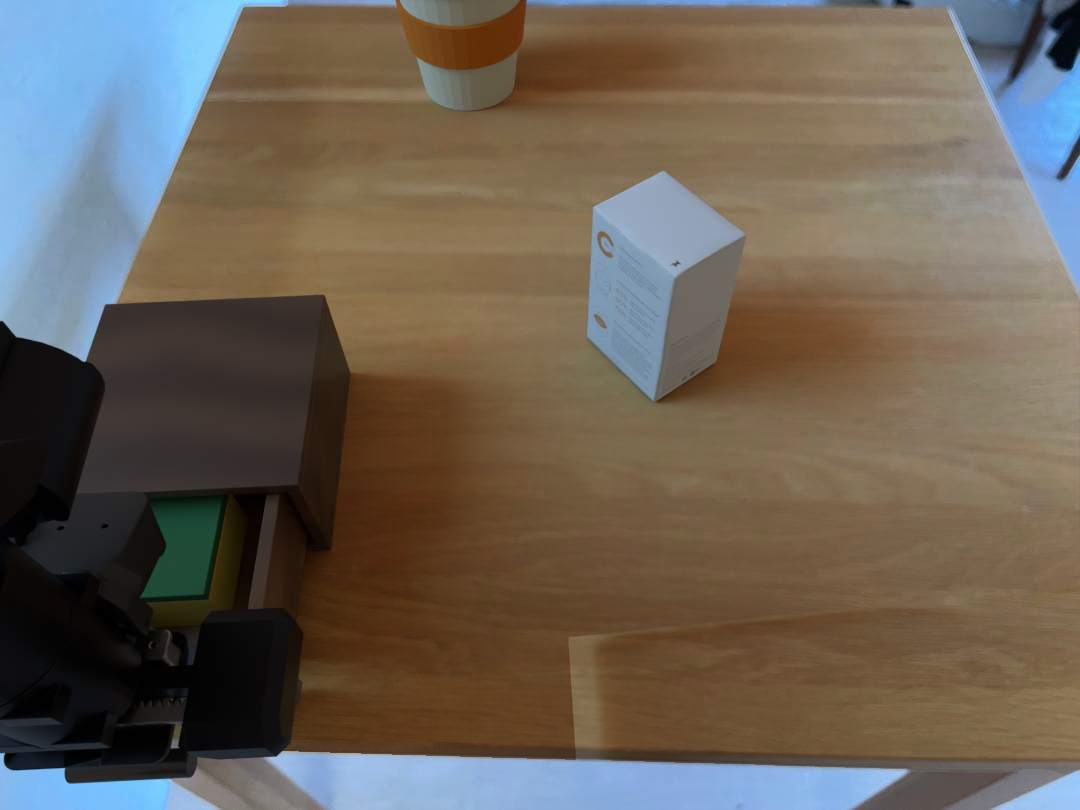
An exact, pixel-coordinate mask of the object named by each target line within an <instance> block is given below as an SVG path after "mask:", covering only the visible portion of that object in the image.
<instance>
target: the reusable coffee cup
mask: <svg viewBox="0 0 1080 810" xmlns="http://www.w3.org/2000/svg"><path fill="white" fill-rule="evenodd" d="M527 1H528V0H395V4H396V8H397V11H398V14H399V18H400V22H401V25H402V29H403V31H404V35H405V39H406V42H407V46H408V48H409V50H410V51H411V53H412V55H414V56H415V57H416V61H417V65H418V68H419V71H420V74H421V78H422V80H423V86H424V87H425V91H426V94H427V95H428V97H429V99H431V100H432V101H433V102H434V103H436V104H437V105H439V106H441V107H444V108H446V109H450V110H455V111H462V112H468V111H469V112H471V111H473V112H474V111H478V110H485V109H488V108H491V107H494V106H496V105H498V104H500V103H501V102H504V101H505V100H506V99H507V98H508V97H509V96H510V95H511V94H512V93H513V90H514V87H515V83H516V72H517V62H518V61H517V60H518V49H519V48H520V46H521V44H522V42H523V39H524V32H525V23H526V22H525V21H526V14H527V13H526V11H527V3H528V2H527Z"/></svg>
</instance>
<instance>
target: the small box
mask: <svg viewBox="0 0 1080 810" xmlns="http://www.w3.org/2000/svg"><path fill="white" fill-rule="evenodd" d="M591 224H592V225H591V247H590V264H589V265H590V267H589V268H590V269H589V288H588V305H587V306H588V308H587V309H588V310H587V327H586V330H587V331H586V338H587V339H588V340H589V341H590V342H592V343H593V344H594V346H596V348H598V350H600V351H601V352H602V354H604V355H605V356H606V357H607V358H608V359H609V360H610V361H611V362H612V363H613V364H614V365H615V366H616V367H617V368H618V369H619V370H620V371H621V372H622V373H623V374H624V375H625V376H626V377H627V378H628V379H629V380H630V381H631V382H632V383H634V385H636V386H637V387H638V389H640V390H641V391H642V392H643V394H645V395H646V396H647V397H648V398H649V399H650V400H651V401H652V402H654V403H655V402H658V401H659V400H661V399H662V398H663V397H665V396H666V395H668V394H669V393H671V392H673V391H674V390H676V389H677V388H679V387H681V386H682V385H683V384H685V383H687V382H688V381H690V380H691V379H692V378H694V377H696V376H697V375H699V374H700V373H702V372H703V371H704V370H706V369H707V368H709V367H710V366H712V365H714V364H715V363H717V360H718V356H719V352H720V347H721V344H722V340H723V335H724V332H725V327H726V324H727V319H728V316H729V311H730V306H731V302H732V298H733V293H734V290H735V285H736V280H737V276H738V273H739V269H740V264H741V260H742V255H743V252H744V247H745V242H746V238H747V235H748V234H747V233H746V232H745V231H744V230H742V229H741V228H739V227H738V226H736V224H735V223H733V222H732V221H731V220H729V219H728V218H727V217H725V216H724V215H723V214H721V213H720V212H719V211H717V210H716V209H715V208H714V207H712V206H711V205H709V204H708V203H707V202H706V201H704V200H703V199H701V197H699V196H698V195H696V194H695V193H694V192H693V191H692V190H690V189H689V188H687V187H686V186H685V185H684V184H682V183H681V182H679V181H678V180H677V179H676V178H675V177H673V176H672V175H671V174H670V173H668V172H667V171H666V170H662V171H660V172H657V173H656V174H654V175H652V176H650V177H648V178H647V179H644V180H643V181H641V182H638V183H637V184H635V185H633V186H631V187H629V188H628V189H626V190H624V191H622V192H619V193H618V194H616V195H614V196H612V197H610V198H608V199H606V200H604V201H602V202H600V203H598V204H596V205H594V206H592V223H591Z"/></svg>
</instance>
